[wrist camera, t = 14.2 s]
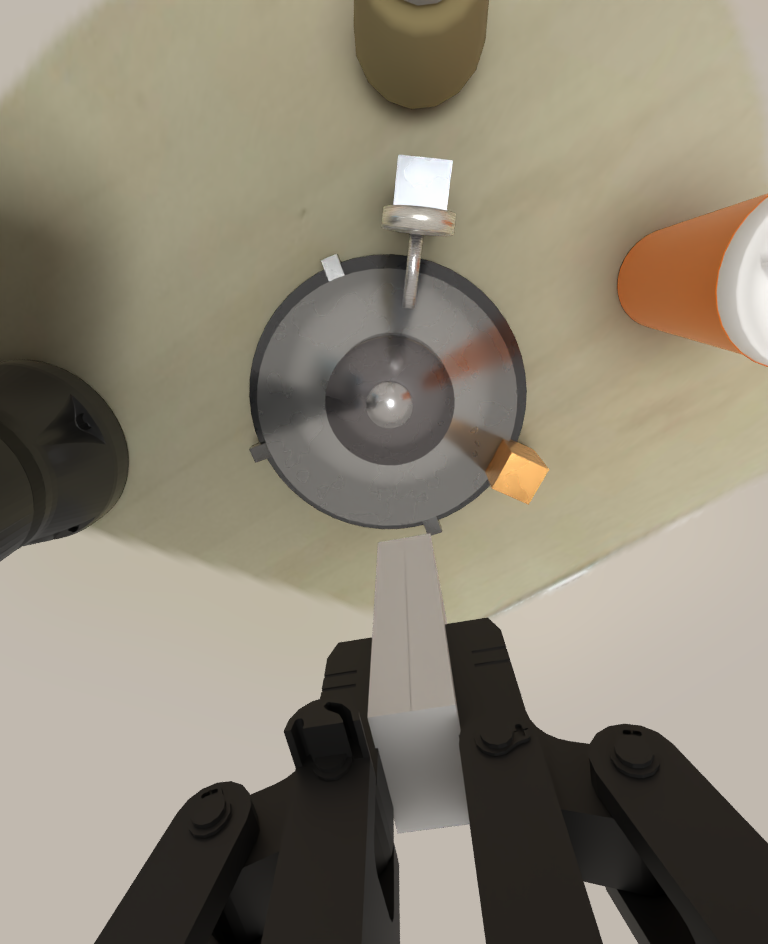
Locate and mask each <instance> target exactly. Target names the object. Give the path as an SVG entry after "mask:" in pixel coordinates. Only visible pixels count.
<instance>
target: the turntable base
mask: <svg viewBox="0 0 768 944" xmlns="http://www.w3.org/2000/svg"><path fill="white" fill-rule="evenodd" d="M407 258H408V256H403V255H394V254H390V255H370V256H365V257H359V258H353V259H350V260H347V261H344V262H341V264H342V267H343V269H344V272H345V274H346V275H347V274H350V273H353V272H359V271H364V270H369V269H386V268H392V269H402V270H406V267H407ZM419 273H422V274H426V275H429V276H431V277H434V278H437V279H439V280H442V281H444V282H446V283H447V284H449V285H451V286H453V287H454V288H456V289H458V290H460V291H461V292H462V293H464V294H465V295H466V296H467V297H469V298H470V299H471V300H473V301H474V302H475V303H476V304H477V305H478V306H479V307H480V308H481V309H482V310H483V311H484V312H485V313H486V314H487V316H488V317H489V318H490V320H491V321H492V322H493V324H494V325H495V326H496V328H497V329H498V331H499V333H500V335H501V337H502V339H503V340H504V342H505V344H506V347H507V349H508V352H509V354H510V357H511V360H512V363H513V368H514V372H515V376H516V385H517V412H516V418H515V424H514V429H513V432H512V435H511V438H510V439H511V440H513V441H516V442H517V441H518V438H519V435H520V432H521V429H522V425H523V420H524V415H525V410H526V393H527V390H526V377H525V370H524V365H523V360H522V356H521V353H520V350H519V347H518V344H517V342H516V339H515V336H514V335H513V333H512V331H511V329H510V327H509V325H508V323H507V321H506V320H505V318H504V317H503V315H502V314H501V313H500V311H499V310H498V308H497V307H496V306H495V304H494V303H493V302H492V301H491V300H490V299H489V298H488V297H487V296H486V295H485V294H484V293H483V292H482V291H481V290H480V289H479V288H477V287H476V286H475V285H474V284H472V283H471V282H470V281H469V280H467V279H466V278H464V277H462V276H461V275H459V274H457V273H456V272H454V271H452V270H451V269H448V268H446V267H444V266H441V265H439V264H436V263H434V262H432V261H428V260H424V259H420V268H419ZM328 282H329V280H328V278H327V275H326V272H325V270H323V271H321V272H318V273H317V274H315V275H314V276H312V277H311V278H309V279H308V280H306V281H305V282H303V283H302V284H301V285H300V286H299V287H297V288H296V289H295V290H294V291H293V292H292V293H291V294H290V295H289V296H288V297H287V298H286V299H285V300H284V301H283V302H282V304H281V305H280V306H279V307H278V308H277V310H276V311H275V312H274V314H273V316H272V317H271V319H270V320H269V322H268V323H267V325H266V327H265V329H264V331H263V333H262V336H261V338H260V340H259V342H258V345H257V348H256V352H255V355H254V358H253V362H252V369H251V375H250V395H249V397H250V406H251V415H252V419H253V423H254V427H255V431H256V434H257V437H258V439H259V442H260V443H261V442H264V441H265V439H264V436H263V433H262V429H261V425H260V421H259V415H258V406H257V385H258V378H259V372H260V367H261V363H262V360H263V357H264V353H265V351H266V348H267V346H268V344H269V342H270V339H271V337H272V335H273V334H274V332H275V331H276V329H277V327H278V326H279V324H280V323H281V321H282V320H283V319H284V318H285V316H286V315H287V314H288V313H289V312H290V310H291V309H292V308H293V307H294V306H295V305H296V304H298V303H299V302H300V301H301V300H302V299H303V298H304V297H305V296H307V295H308V294H310V293H311V292H312V291H314V290H315V289H317V288H318V287H320V286H322V285H324V284H326V283H328ZM267 459H268V461H269V462H270V464H271V465H272V467H273V468H274V470H275V471H276V472H277V474H278V475H279V477H280V478H281V479H282V480H283V481H284V482H285V483H286V484H287V486H288V487H289V488H290V489H291V490H292V491H293V492H295V493H296V494H297V495H298V496H299V497H300V498H302V499H303V500H304V501H305V502H307V503H308V504H310V505H311V506H313V507H314V508H316V509H317V510H319V511H321V512H323V513H325V514H327V515H329V516H331V517H333V518H336V519H338V520H341V521H344V522H347V523H350V524H354V525H358V526H362V527H369V528H378V529H400V528H408V527H415V526H419V525H423V521H420V522H416V523H411V524H404V525H389V526H381V525H372V524H365V523H360V522H356V521H351V520H348V519H346V518H343V517H340V516H337V515H335V514H333V513H331V512H329V511H327V510H325V509H323V508H321V507H320V506H318V505H317V504H315V503H314V502H312V501H311V500H309V499H308V498H307V497H305V496H304V495H303V494H302V493H301V492H300V491H298V490H297V489H296V488H295V487H294V486H293V484H292V483H291V482H290V481H289V480H288V479H287V478H286V477H285V475H284V474H283V473H282V471H281V470H280V468H279V467H278V466H277V464H276V462H275V460H274V459H273V457H269V458H267ZM489 486H490V482H489V480H488V479H487V480H486V482H485V483H484V484H483V485H482V486H481V487H480V488H479V489H478V490H477V491H476V492H475V493H474V494H473V495H472V496H470V497H469V498H468V499H466V500H465V501H463V502H462V503H461V504H459V505H458V506H456V507H454V508H452V509H451V510H449V511H447V512H445V513H443V514H441V515H438V516H437V517H438V519H441V518H444V517H447V516H449V515H450V514H452V513H454V512H456V511H458V510H460V509H462V508H463V507H464V506H466V505H467V504H469V503H470V502H472V501H473V500H474V499H476V498H477V497H478V496H479V495H480V494H481V493H482V492H483V491H485V490H486V489H487V488H488V487H489Z"/></svg>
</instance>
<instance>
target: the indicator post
mask: <svg viewBox="0 0 768 944" xmlns="http://www.w3.org/2000/svg"><path fill="white" fill-rule="evenodd" d="M452 163H453V160H444V159H435V158H426V157H416V156H407V155H398V162H397V173H396V183H395V193H394V204H393V205H387V206H384V207H383V216H382V228H384V229H387V230H391V231H396V232H402V233H410V239H409V249H408V258H407V267H406V277H405V286H404V295H403V305H402V307H403V308H411V309H415V303H416V294H417V286H418V277H419V268H420V259H421V251H422V242H423V235H430V236H452V235H454V228H455V221H456V214H455V213H453V212H451V211H447V203H448V195H449V187H450V179H451V171H452Z"/></svg>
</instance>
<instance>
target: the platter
mask: <svg viewBox="0 0 768 944" xmlns="http://www.w3.org/2000/svg"><path fill="white" fill-rule="evenodd" d="M321 262H322V265H323V267H324V270H325V272H326V275H327V278H328V280H329V282H328V283H326V284H324V285H322V286H320V287H318V288H317V289H315V290H314V291H312V292H311V293H310V294H308V295H307V296H305V297H304V298H303V299H302V300H301V301H300V302H299V303H298V304H296V305H295V306H294V307H293V308H292V309H291V310H290V312H289V313H288V314H287V315H286V316H285V318H284V319H283V320H282V321H281V323H280V324H279V326H278V327H277V329H276V331H275V332H274V334H273V335H272V337H271V339H270V342H269V344H268V346H267V348H266V351H265V353H264V357H263V360H262V363H261V367H260V372H259V378H258V385H257V406H258V415H259V421H260V425H261V429H262V433H263V436H264V439H265V441H264V442H261V443H258V444H256V445H253V446H252V447H251V448H250V449H249V450H250V452H251V454H252V457H253V459H254V461H255V463H256V462H258V461H261V460H264V459H267V458H269V457H273V459H274V460H275V462H276V464H277V466H278V467H279V468H280V470H281V471H282V473H283V474H284V475H285V477H286V478H287V479H288V480H289V481H290V482H291V483H292V484H293V486H294V487H295V488H296V489H297V490H298V491H300V492H301V493H302V494H303V495H304V496H305V497H307V498H308V499H309V500H311V501H312V502H314V503H315V504H317V505H318V506H320V507H321V508H323V509H325V510H327V511H329V512H331V513H333V514H335V515H337V516H340V517H343V518H346V519H348V520H351V521H356V522H360V523H365V524H372V525H381V526H389V525H404V524H411V523H416V522H420V521H423V524H424V526H425V529H426V532H427V534H429V533H430V534H431V535H434V534H437V533H440V532H442V528H441V525H440V522H439V519H438V517H437V516H438V515H441V514H443V513H445V512H447V511H449V510H451V509H452V508H454V507H456V506H458V505H459V504H461V503H462V502H463V501H465V500H466V499H468V498H469V497H470V496H472V495H473V494H474V493H475V492H476V491H477V490H478V489H479V488H480V487H481V486H482V485H483V484H484V483H485V482H486V480H487V479H488V480H489V482H490V485H491V487H492V489H495V490H497V491H499V492H501V493H504V494H506V495H508V496H510V497H513V498H515V499H517V500H519V501H522V502H524V503H526V504H528V505H529V503H530V501H531V500H532V498H533V496H534V494H535V493H536V491H537V489H538V488H539V486H540V484H541V482H542V481H543V479H544V477H545V476H546V474H547V472H548V470H549V469H548V467H547V466H546V465H545V464H544V462H543V461H542V460H541V458H540V457H539V456H538V455H537V453H536V452H535V451H534V450H533V449H531V448H529V447H527V446H524V445H522V444H520V443H518V442H516V441H513V440H511V439H510V438H511V435H512V432H513V429H514V424H515V418H516V412H517V385H516V376H515V372H514V368H513V363H512V360H511V357H510V354H509V352H508V349H507V347H506V344H505V342H504V340H503V339H502V337H501V335H500V333H499V331H498V329H497V328H496V326H495V325H494V324H493V322H492V321H491V320H490V318H489V317H488V316H487V314H486V313H485V312H484V311H483V310H482V309H481V308H480V307H479V306H478V305H477V304H476V303H475V302H474V301H473V300H471V299H470V298H469V297H467V296H466V295H465V294H464V293H462V292H461V291H460V290H458V289H456V288H454V287H453V286H451V285H449V284H447V283H446V282H444V281H442V280H439V279H437V278H434V277H431V276H429V275H426V274H422V273H419V277H418V286H417V294H416V303H415V309H411V308H403V307H402V305H403V295H404V286H405V277H406V270H402V269H392V268H386V269H369V270H364V271H359V272H353V273H350V274H347V275H346V274H345V272H344V269H343V267H342V264H341V261H340V259H339V256H338V254H335V255H332V256H330V257H328V258H325V259H323V260H321ZM381 333H402V334H406V335H410V336H412V337H415V338H417V339H419V340H421V341H422V342H424V343H425V344H427V345H428V346H429V347H431V348H432V350H433V351H434V352H435V353H436V354H437V355H438V356H439V358H440V359H441V361H442V362H443V364H444V366H445V368H446V370H447V372H448V374H449V377H450V379H451V382H452V386H453V390H454V397H455V407H454V414H453V418H452V421H451V424H450V427H449V429H448V431H447V433H446V434H445V436H444V438H443V439H442V440H441V442H440V443H439V444H438V445H437V446H436V447H435V448H434V449H433V450H432V451H430V452H429V453H428V454H426V455H425V456H423V457H421V458H419V459H417V460H415V461H412V462H410V463H406V464H401V465H379V464H375V463H371V462H368V461H365V460H363V459H361V458H359V457H357V456H355V455H354V454H353V453H351V452H350V451H348V450H347V449H346V448H345V447H344V446H343V445H342V444H341V443H340V441H339V440H338V439H337V437H336V436H335V434H334V433H333V431H332V429H331V427H330V425H329V422H328V418H327V414H326V409H325V394H326V388H327V384H328V381H329V378H330V375H331V374H332V372H333V370H334V368H335V366H336V365H337V364H338V362H339V361H340V360H341V359H342V358H343V356H344V355H345V354H346V353H347V352H348V351H349V350H350V349H351V348H352V347H353V346H354V345H356V344H357V343H358V342H360V341H362V340H363V339H366V338H368V337H370V336H373V335H376V334H381Z"/></svg>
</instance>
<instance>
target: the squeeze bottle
mask: <svg viewBox="0 0 768 944" xmlns="http://www.w3.org/2000/svg"><path fill="white" fill-rule="evenodd" d="M488 5H489V0H354V34H355V46H356V56H357V58H358V60H359V62H360V65H361V67H362V69H363V71H364V74H365V76H366V78H367V80H368V82H369V83H370V84H371V85H372V86H373V87H374V88H375V89H376V90H377V91H378V92H379V93H380V94H381V95H382V96H383V97H384V98H385V99H386V100H387V101H390V102H393V103H396V104H399V105H401V106H404V107H407V108H410V109H416V108H425V107H434V106H437V105H439V104H441V103H442V102H444V101H446V100H447V99H449V98H451V97H452V96H454V95H456V94H457V93H459V92H460V90H461V89H462V88H463V86H464V85H465V84H466V82H467V81H468V80H469V78H470V77H471V76H472V74H473V73H474V72H475V70H476V68H477V65H478V62H479V59H480V55H481V52H482V49H483V46H484V43H485V38H486V27H487V16H488Z"/></svg>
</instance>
